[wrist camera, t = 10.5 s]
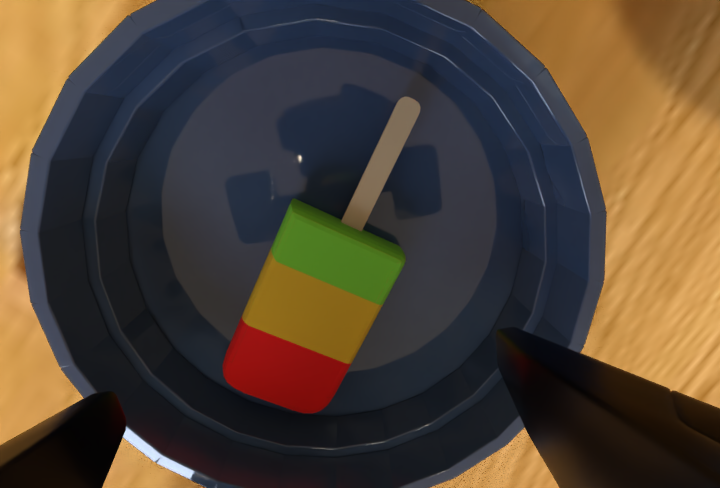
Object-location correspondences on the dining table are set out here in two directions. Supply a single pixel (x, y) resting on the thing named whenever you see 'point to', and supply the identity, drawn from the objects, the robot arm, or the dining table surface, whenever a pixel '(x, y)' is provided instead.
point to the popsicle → (319, 291)
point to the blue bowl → (327, 193)
